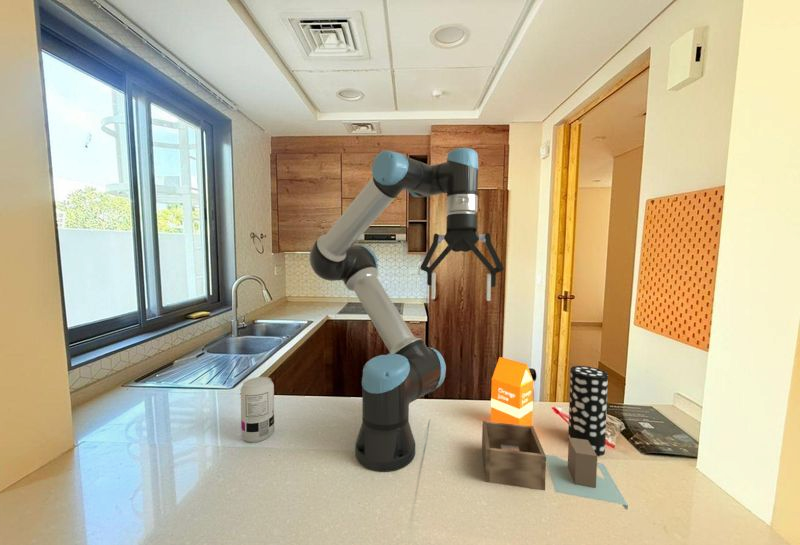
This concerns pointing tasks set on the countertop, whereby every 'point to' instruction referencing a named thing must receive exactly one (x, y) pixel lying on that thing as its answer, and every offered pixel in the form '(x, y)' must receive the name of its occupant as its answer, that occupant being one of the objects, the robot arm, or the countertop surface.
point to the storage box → (513, 455)
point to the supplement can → (257, 409)
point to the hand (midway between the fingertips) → (460, 299)
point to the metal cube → (510, 447)
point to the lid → (583, 474)
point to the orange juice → (512, 393)
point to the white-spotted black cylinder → (588, 406)
